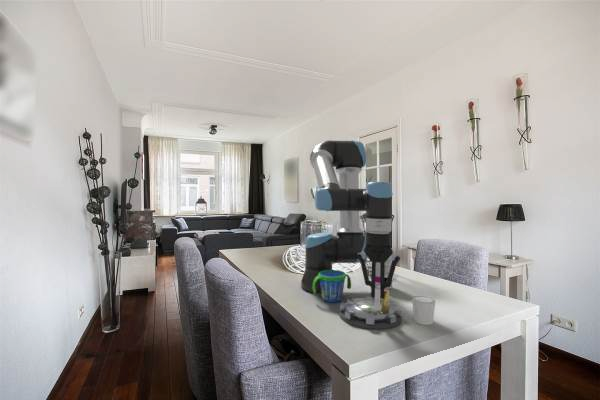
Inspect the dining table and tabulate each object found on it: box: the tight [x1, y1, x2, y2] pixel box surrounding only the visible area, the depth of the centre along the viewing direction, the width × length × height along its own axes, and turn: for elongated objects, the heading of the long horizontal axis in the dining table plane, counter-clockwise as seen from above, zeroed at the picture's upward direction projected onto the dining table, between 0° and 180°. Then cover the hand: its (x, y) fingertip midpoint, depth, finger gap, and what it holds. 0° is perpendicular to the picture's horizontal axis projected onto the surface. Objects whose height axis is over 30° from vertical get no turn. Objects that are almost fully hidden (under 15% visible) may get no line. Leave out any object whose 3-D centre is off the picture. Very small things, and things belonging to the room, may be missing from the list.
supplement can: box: [375, 256, 393, 291], centre depth 130 cm, size 8×8×15 cm
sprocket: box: [339, 289, 402, 325], centre depth 99 cm, size 20×20×9 cm
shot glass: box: [412, 295, 436, 326], centre depth 96 cm, size 7×7×7 cm
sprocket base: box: [338, 310, 403, 331], centre depth 99 cm, size 20×20×1 cm
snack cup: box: [312, 269, 352, 303], centre depth 114 cm, size 16×10×10 cm
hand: (377, 308), depth 92 cm, fingers closed
